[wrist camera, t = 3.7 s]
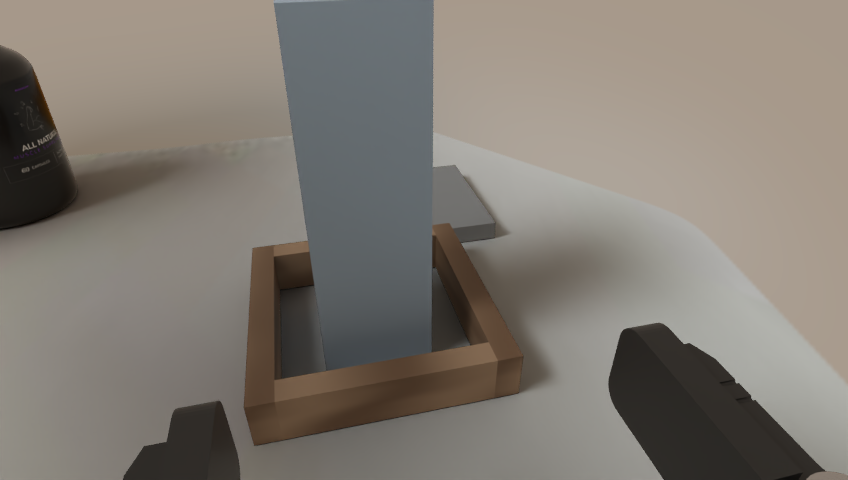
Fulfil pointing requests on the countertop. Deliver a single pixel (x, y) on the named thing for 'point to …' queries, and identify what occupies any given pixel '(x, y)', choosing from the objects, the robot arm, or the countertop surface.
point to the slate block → (364, 168)
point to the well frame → (380, 381)
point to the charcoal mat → (459, 206)
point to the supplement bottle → (29, 148)
